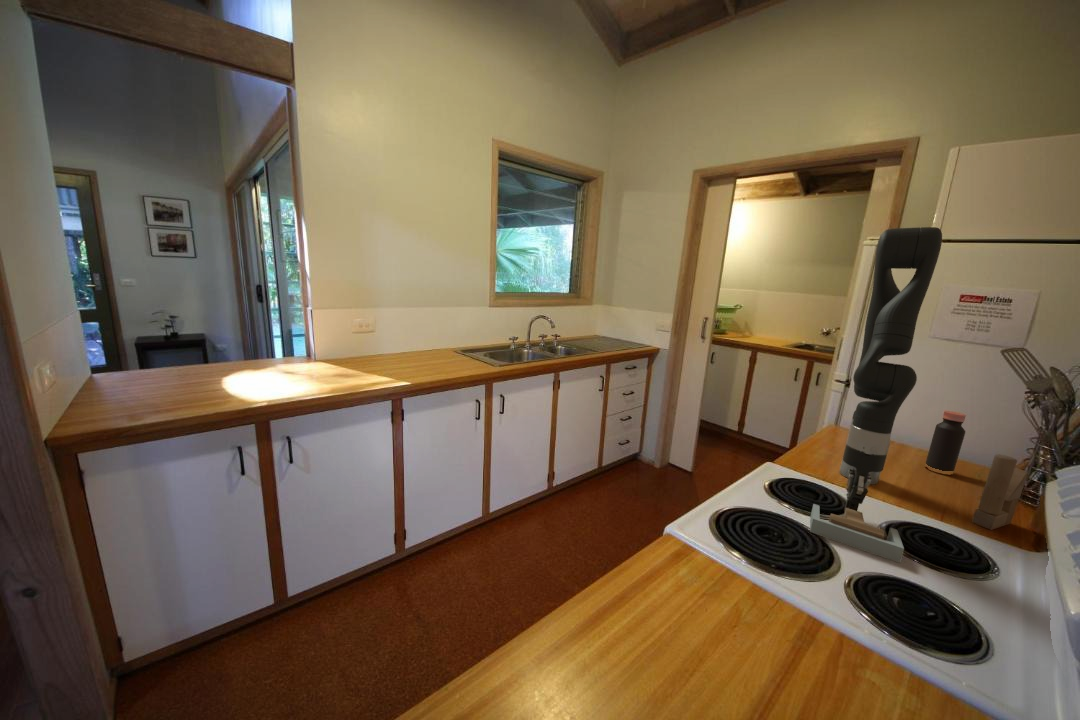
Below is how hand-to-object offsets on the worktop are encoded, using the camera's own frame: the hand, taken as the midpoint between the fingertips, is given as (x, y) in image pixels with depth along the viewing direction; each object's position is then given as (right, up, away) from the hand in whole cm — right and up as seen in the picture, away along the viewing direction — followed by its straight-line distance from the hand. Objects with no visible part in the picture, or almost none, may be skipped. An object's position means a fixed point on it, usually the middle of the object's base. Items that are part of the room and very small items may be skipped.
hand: (849, 514), depth 96 cm
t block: (-5, -2, -7) cm, 9 cm away
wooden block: (+38, -4, +4) cm, 39 cm away
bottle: (+57, 0, +36) cm, 67 cm away
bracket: (-6, -2, -8) cm, 10 cm away
